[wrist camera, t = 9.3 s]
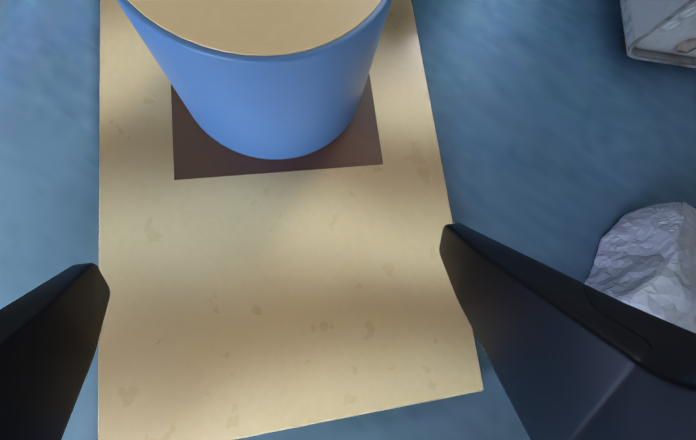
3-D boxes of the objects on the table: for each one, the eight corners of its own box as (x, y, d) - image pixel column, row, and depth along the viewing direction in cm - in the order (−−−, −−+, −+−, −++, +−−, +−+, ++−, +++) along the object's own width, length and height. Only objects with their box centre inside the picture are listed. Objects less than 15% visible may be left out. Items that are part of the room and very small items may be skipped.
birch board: (474, 385, 18) (485, 391, 17) (109, 455, 15) (96, 467, 14) (398, -36, 22) (402, -50, 21) (109, -42, 20) (99, -60, 19)
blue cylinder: (319, 190, 18) (333, 114, 10) (144, 111, 17) (10, -35, 9) (387, 46, 20) (442, -109, 12) (234, -28, 19) (187, -238, 12)
